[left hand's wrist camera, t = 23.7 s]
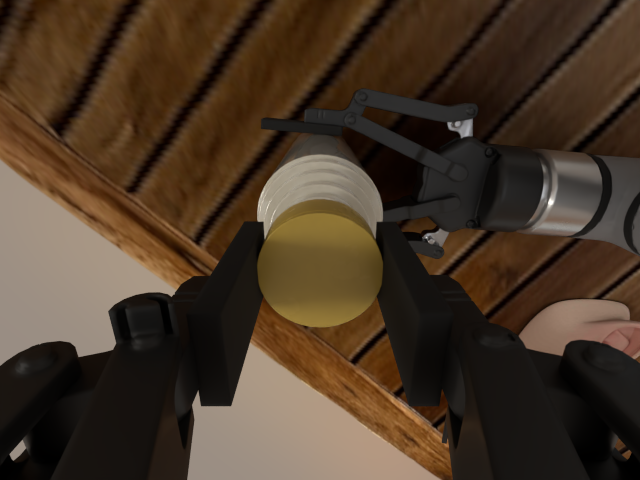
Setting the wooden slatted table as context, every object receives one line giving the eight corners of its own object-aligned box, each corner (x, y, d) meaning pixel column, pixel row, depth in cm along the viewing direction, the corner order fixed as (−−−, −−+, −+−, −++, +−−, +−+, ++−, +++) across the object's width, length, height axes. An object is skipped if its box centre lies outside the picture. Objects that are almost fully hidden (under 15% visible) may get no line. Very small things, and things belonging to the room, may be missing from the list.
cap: (361, 309, 15) (366, 336, 14) (257, 291, 15) (249, 316, 13) (388, 210, 14) (398, 226, 12) (272, 188, 13) (265, 201, 12)
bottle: (354, 187, 38) (412, 329, 14) (293, 195, 38) (250, 346, 15) (348, 123, 36) (405, 165, 12) (283, 132, 36) (212, 190, 12)
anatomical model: (520, 385, 43) (561, 305, 39) (504, 362, 46) (540, 287, 42) (620, 400, 44) (671, 324, 40) (597, 377, 47) (641, 305, 43)
